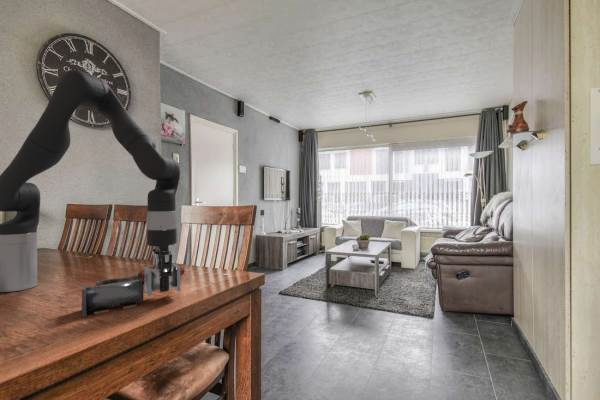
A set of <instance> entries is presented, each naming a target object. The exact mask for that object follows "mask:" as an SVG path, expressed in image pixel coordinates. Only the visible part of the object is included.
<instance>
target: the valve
mask: <svg viewBox="0 0 600 400" xmlns="http://www.w3.org/2000/svg"><path fill="white" fill-rule="evenodd" d="M179 267H180V277H182V276H183V275H185V271H186V270H185V268H184V267H182V266H179ZM137 280H142V282H143V284H144V269H142V271H139V272H138V273H137V275H132V276H125V277H118V278H111V279H110V278H109V279H104V280H97V281H96V282H95V283H96V284H95V286H101V285H108V284H115V283H123V282H130V281H137Z"/></svg>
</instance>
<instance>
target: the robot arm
mask: <svg viewBox="0 0 600 400" xmlns="http://www.w3.org/2000/svg"><path fill="white" fill-rule="evenodd" d="M79 107H83V108H87V109H92V110H95V111H97V112H98V113H100V114H101V115H103V116H104V117H105V118H106V120H108V122H109V123H110V126H111V130H112V134H113V135H114V137H115V139H116V140H117V142H118V143H119V144H120V145H121V147H123V149H124V150H125V151H127V153H128V154H129V155H131V156H132V159H133V161H134V162H135V164H136V166H137V167H138V169H139V171H140V172H141V173H142V175H144V176H145V177H146V178H148V179H150V180H153V181H156V182H155V185H154V189H151V190H149V191H148V193H147V214H146V245H147V246H149V247H154V248H153V249H152V260H153V261H152V264H153V267H152V268H153V270H154V269H157V270H159V277H160V290H159V292H160V293H165V292H168V291H170V288H169V277H170V276H171V275H172V273H171V272H172V264H173V255H172V254H173V253H172V252H171V251H170V248H169V246H173V245H176V244H177V241H178V240H177V239H178V238H177V237H178V236H177V233H178V232H177V231H178V230H177V226H178V225H177V213H176V194H177V191H178V186H179V184H180V183H179V182H180V176H181V168H180V165H179V163H178V161H177V160H176V159H175V158H173V157H170V156H167V155H163V154H161V153H160V152H159V151H157V150H156V147H157V146H156V143H155V142H154V140H153V139H152V138H151V136H149V134H148V133H146V131H145V130H144V129H143V128H142V127H141V126H140V125H139V124H138V123H137V122H136V121H135V120H134V118H133V117H132V116H131V115H130V114H129V113H128V111H127V110H126V108H125V107H124V106H123V104H122V103H121V101H120V100H119V98H118V97H117V96H116V94H115V93H114V90H113V89H112V88H111V87H110V85H109V84H108V83H107V82H106V81H105V80H103V78H100V77H97V76H95V75H93V74H90V73H87V72H84V71H81V70H78V69H70V70H67V71H66V72H65V73H64V74H63V75H61V77H60V79H59V81H58V82H57V83H56V86H55V88H54V90H53V92H52V95H51V97H50V99H49V101H48V103H47V106H46V107H45V109H44V111H43V112H42V114H41V116H40V117H39V119H38V121H37V123H36V124H35V125H34V127H33V128H32V130H31V131H30V132H29V134H28V136H27V137H26V138H25V141H23V144H22V145H21V147H20V149H19V150H18V151H17V153H16V154H15V156H14V158H13V159H12V160H11V162H10V163H9V164H8V166H7V167H6V168H5V169H4V170H3V172H2V173H1V174H0V212H4V213H5V212H8V213H10V212H16V215H15V216H14V217H13V218H11V219H10V220H8V221H4V222H2V223H0V293H10V292H19V291H24V290H29V289H32V288H35V287H37V286H38V225H39V223H40V213H41V212H40V211H41V210H40V209H41V193H40V189H39V188H38V185H36V184H35V183H32V182H28V181H29V180H30V179H32V178H33V177H36V176H38V175H40V174H42V173H44V172H46V171H47V170H49V169H51V168H53V167H54V166H56V165H57V164H58V163H60V161H61V160H62V158H64V156H65V154H66V153H67V152H68V149H69V148H70V146H71V142H72V141H71V132H70V125H69V123H70V121H71V118H72V116H73V115H74V113H75V111H76V110H77V109H78V108H79ZM164 269H167V272H163V271H164Z"/></svg>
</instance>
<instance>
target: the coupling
mask: <svg viewBox="0 0 600 400" xmlns="http://www.w3.org/2000/svg"><path fill="white" fill-rule="evenodd" d="M143 270H144V283H143V291H144V292H145V293H146V296H147V297H151V296H152V292H155V291H160V277H159V270H157V269H154V268H153V269H150V268H149V266H144V269H143ZM163 272H167V269H164V271H163ZM171 273H172V275H171V276H170V277H169V289H172V288H173V289H174V290H176V292H180V291H181V276H180V266H179V264H176V263H172V272H171Z"/></svg>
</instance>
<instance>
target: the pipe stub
mask: <svg viewBox="0 0 600 400" xmlns="http://www.w3.org/2000/svg"><path fill="white" fill-rule="evenodd" d="M143 301H144V283H143V282H142V280H133V281H126V282H119V283H112V284H105V285H98V286H96V285H94V286H89V287H88V286H87V283H86V282H85V283H82V286H81V318H87V312H91V311H93V314H94V315H98V314H99V315H100V314H104V313H109V312H110V309H109V308H114V307H118V306H122V309H123V310H126V309H131V308H135V307H138V305H137V303H141V302H143Z"/></svg>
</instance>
